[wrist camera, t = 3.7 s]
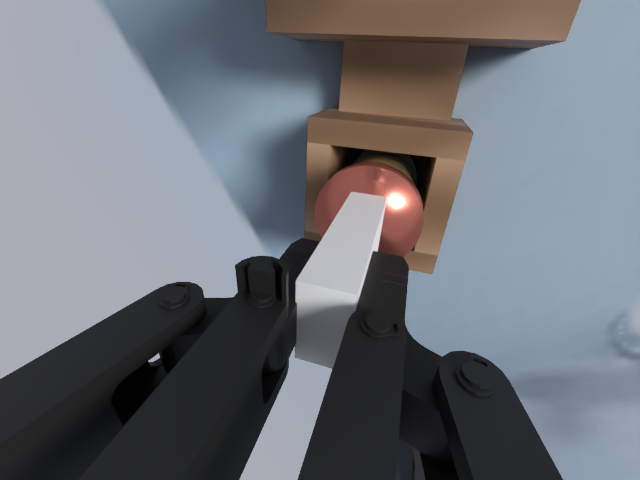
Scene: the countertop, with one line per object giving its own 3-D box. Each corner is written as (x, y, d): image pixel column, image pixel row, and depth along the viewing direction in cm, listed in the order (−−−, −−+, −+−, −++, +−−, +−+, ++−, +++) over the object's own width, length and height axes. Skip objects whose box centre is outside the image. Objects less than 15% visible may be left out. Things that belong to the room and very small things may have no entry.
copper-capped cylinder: (414, 218, 19) (410, 275, 14) (342, 206, 21) (312, 255, 15) (432, 142, 17) (435, 174, 12) (349, 133, 18) (317, 159, 13)
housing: (466, 243, 20) (476, 283, 16) (295, 212, 22) (269, 241, 19) (703, -456, 8) (930, -888, 5) (302, -345, 11) (239, -559, 7)
